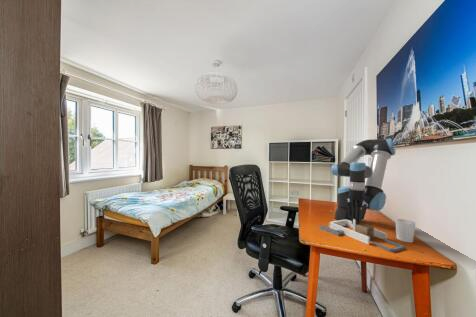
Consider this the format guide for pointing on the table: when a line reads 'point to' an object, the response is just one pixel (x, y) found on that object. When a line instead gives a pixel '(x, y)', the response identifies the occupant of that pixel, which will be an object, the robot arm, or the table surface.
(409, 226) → the white cup
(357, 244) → the table surface
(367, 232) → the walnut cube
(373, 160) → the robot arm
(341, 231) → the crook tool
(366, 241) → the cubby
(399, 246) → the grey bracket
